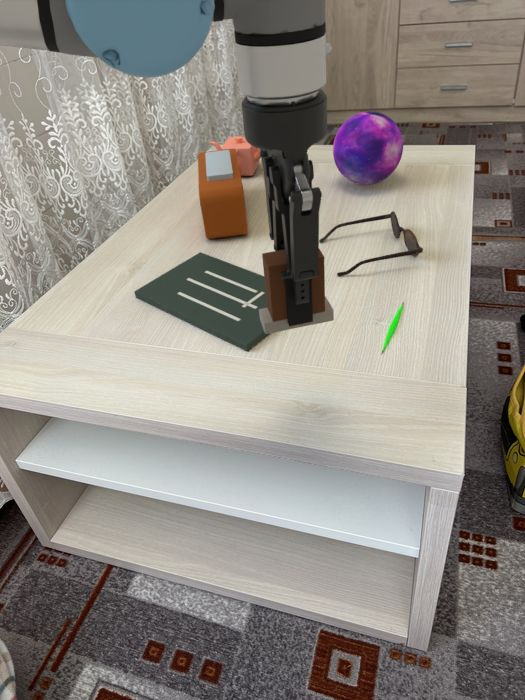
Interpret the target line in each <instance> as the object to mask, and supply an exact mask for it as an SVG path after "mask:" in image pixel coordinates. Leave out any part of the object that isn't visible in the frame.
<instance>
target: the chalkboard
mask: <svg viewBox="0 0 525 700" xmlns="http://www.w3.org/2000/svg"><path fill="white" fill-rule="evenodd" d="M133 293H134V296H135V298H136V299H138V300H140V301H143V302H145V303H147V304H148V305H151V306H153V307H155V308H156V309H159V310H161V311H163V312H165V313H168V314H170V315H171V316H173V317H176V318H177V319H179V320H182V321H184V322H186V323H187V324H190V325H192V326H194V327H196V328H198V329H200V330H202V331H204V332H206V333H209V334H211V335H212V336H215V337H216V338H219V339H221V340H223V341H225V342H227V343H229V344H232V345H233V346H235V347H238V348H240V349H242V350H244V351H246V352H248V351H249V350H251V349H252V348H254V347H255V346H256V345H257V344H259V343H260V342H262V340H264V339H265V338H266V337H267V336H269V335H270V334H271V333H269V334H265V332H264V329H263V326H262V324H261V321H260V316H259V309H263V308H267V300H266V290H265V279H264V275H262V274H259V273H257V272H254V271H251V270H249V269H246V268H243V267H241V266H238V265H235V264H233V263H230V262H228V261H224V260H222V259H219V258H217V257H214V256H211V255H208V254H206V253H204V252H198V253H197V254H195V255H193V256H191V257H190V258H188V259H186V260H185V261H183V262H181V263H179V264H178V265H175V266H174V267H173V268H171V269H170V270H168V271H166V272H164V273H162V274H161V275H159V276H157V277H156V278H154V279H153V280H151V281H149V282H147V283H146V284H144V285H142V286H141V287H139V288H138V289H136V290H134V292H133Z"/></svg>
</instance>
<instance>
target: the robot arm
mask: <svg viewBox="0 0 525 700" xmlns="http://www.w3.org/2000/svg"><path fill="white" fill-rule="evenodd" d="M225 20H232V24H233V28H234V30H233V34H234V42H233V43H234V52H235V53H234V54H235V60H236V61H235V62H236V70H237V79H238V88H239V89H238V90H239V92H240V93H241V94H242V95H243V96H244V98H243V100H242V101H241V103H240V104H241V111H242V112H241V113H242V123H243V133H244V137H245V139H246V141H247V142H248V143H249V144H250V145H252V146H253V147H256V148H258V149H260V157H261V158H260V159H261V164H262V165H261V166H262V171H263V179H264V190H265V200H266V209H267V219H268V229H269V232H268V235H269V238H270V239H271V241H273V250H274V251H279V250H284V249H285V254H286V263H287V271H282V272H280V274H281V278H282V280H284V279H285V289H286V304H287V319H288V324H289V326H294V325H299V324H304V323H309V322H313V306H312V278H316V277H318V273H319V270H318V269H319V249H320V248H319V247H320V242H319V240H320V209H321V202H322V197H323V196H322V191H321V188H320V187H319V186H317V187H313V183H312V182H313V181H314V178H315V173H314V172H315V171H314V164H313V160H312V159H309V154H308V150H309V149H310V148H311V147H312V146H313V145H315V144H318V143H320V142H321V141H322V140H323V139H324V138H325V137H326V136H327V133H328V95H327V94H326V93H325V91H324V90H323V88H324V87H325V86H326V84H327V58H326V57H328V56H331V54H332V49H333V47H332V45H331V43H330V42H327V32H326V31H327V25H326V0H0V46H2V47H3V46H4V47H11V48H21V49H29V50H39V51H40V50H41V51H48V52H52V53H53V52H54V53H61V54H64V55H65V54H66V55H70V56H79V57H87V58H88V57H89V58H98V59H100V60H101V61H102V62H103V63H104V64H106V65H107V66H109V67H111V68H112V69H115V70H117V71H119V72H120V73H122V74H125V75H128V76H131V77H137V78H146V79H148V78H159V77H162V76H167V75H169V74H172V73H175V72H176V71H178V70H180V69H181V68H183V67H184V66H185V65H187V64H188V63H190V61H191V60H192V59H194V57H195V56H196V55H198V53H199V51H200V50H201V49H202V47H203V45H204V43H205V41H206V39H207V38H208V35H209V33H210V30H211V26H212V23H213V22H214V23H217V22H223V21H225Z"/></svg>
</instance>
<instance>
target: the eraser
mask: <svg viewBox="0 0 525 700" xmlns="http://www.w3.org/2000/svg"><path fill="white" fill-rule="evenodd" d="M261 258H262V267H263V276H264V279H265V290H266V300H267V308H263V309H259V316H260V321H261V324H262V326H263V329H264V332H265V334H269V333H270V334H273V333H279V332H282V331H289V330H293V329H297V328H302V327H304V328H305V327H309V326H313V325H318V324H322V323H328V322H333V321H334V317H335V315H334V308H333V306H332V305H331V303H330V301H329V300H328V298H327V296H326V286H325V285H326V283H325V282H326V279H325V278H326V277H325V276H326V275H325V255H324V254H323V251H322V250H321V249H320V248H319V269H318V270H319V273H318V277H316V278H312V306H313V322H309V323H304V324H299V325H294V326H289V324H288V319H287V304H286V289H285V279H284V280H282V278H281V274H280V272H282V271H287V263H286V254H285V249H284V250H279V251H275V250H274V251H268V252H263V253H261ZM270 334H269V335H270Z"/></svg>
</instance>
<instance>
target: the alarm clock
mask: <svg viewBox="0 0 525 700" xmlns="http://www.w3.org/2000/svg"><path fill="white" fill-rule="evenodd" d="M197 171H198V172H197V173H198V174H197V175H198V176H197V177H198V197H199V203H200V211H201V217H202V222H203V228H204V235H205V238H206V239H207V240H211V239H219V238H220V239H221V238H228V237H233V236H234V237H236V236H244V235H248V234H249V233H248V232H249V228H248V218H247V210H246V209H247V208H246V201H245V193H244V191H245V190H244V185H243V179H242V175H241V174H240V169H239V163H238V158H237V153H236V149H226V150H217V149H216V150H211V151H210V150H209V151H201V152H198V153H197Z"/></svg>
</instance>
